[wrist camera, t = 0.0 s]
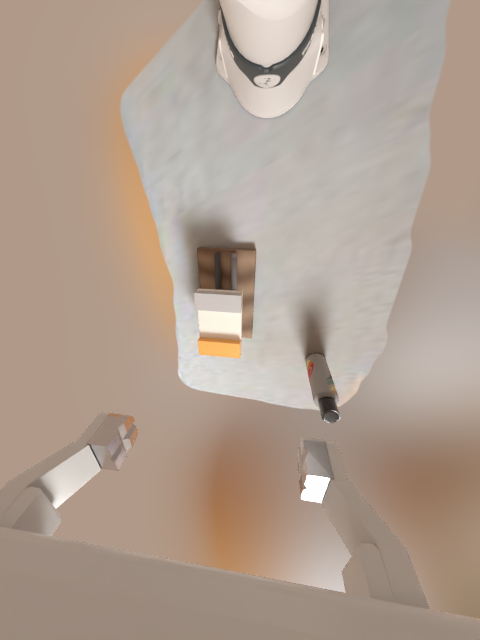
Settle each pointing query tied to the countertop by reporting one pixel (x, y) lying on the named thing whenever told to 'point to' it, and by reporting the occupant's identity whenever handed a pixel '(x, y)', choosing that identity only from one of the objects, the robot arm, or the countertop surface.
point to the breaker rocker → (219, 322)
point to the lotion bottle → (323, 387)
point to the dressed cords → (233, 271)
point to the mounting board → (244, 278)
